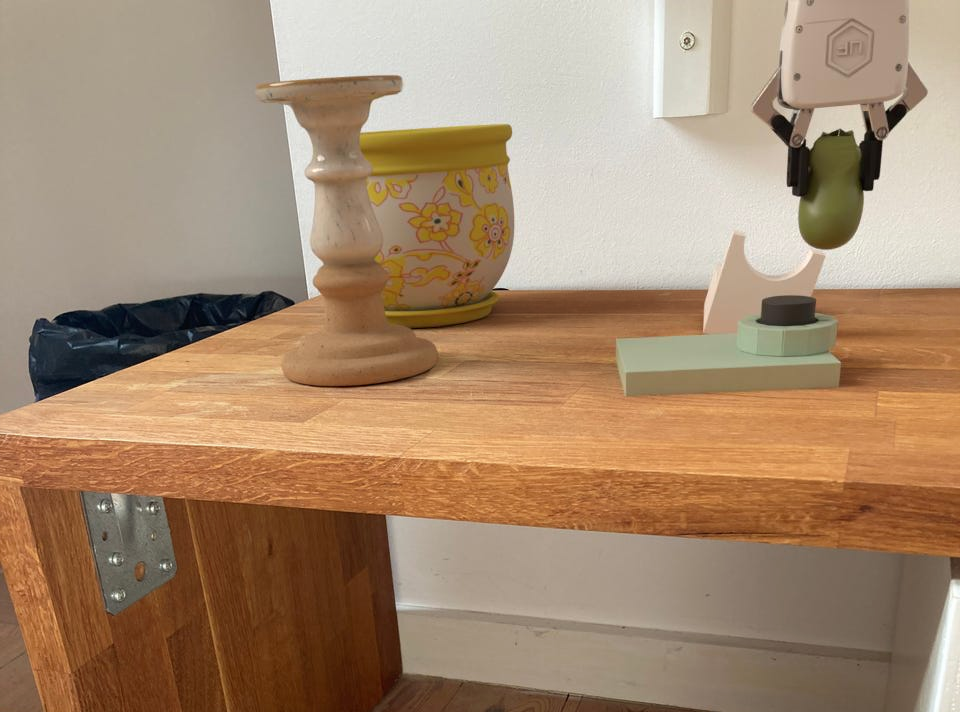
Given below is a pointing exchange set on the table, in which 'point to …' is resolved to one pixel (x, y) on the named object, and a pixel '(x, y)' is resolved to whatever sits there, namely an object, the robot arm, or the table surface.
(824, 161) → the olive green rounded piece
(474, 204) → the flowerpot
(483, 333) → the table surface
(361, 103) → the candle holder
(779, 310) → the button
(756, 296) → the bracket
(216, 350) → the table surface
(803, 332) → the green base plate
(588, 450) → the table surface
